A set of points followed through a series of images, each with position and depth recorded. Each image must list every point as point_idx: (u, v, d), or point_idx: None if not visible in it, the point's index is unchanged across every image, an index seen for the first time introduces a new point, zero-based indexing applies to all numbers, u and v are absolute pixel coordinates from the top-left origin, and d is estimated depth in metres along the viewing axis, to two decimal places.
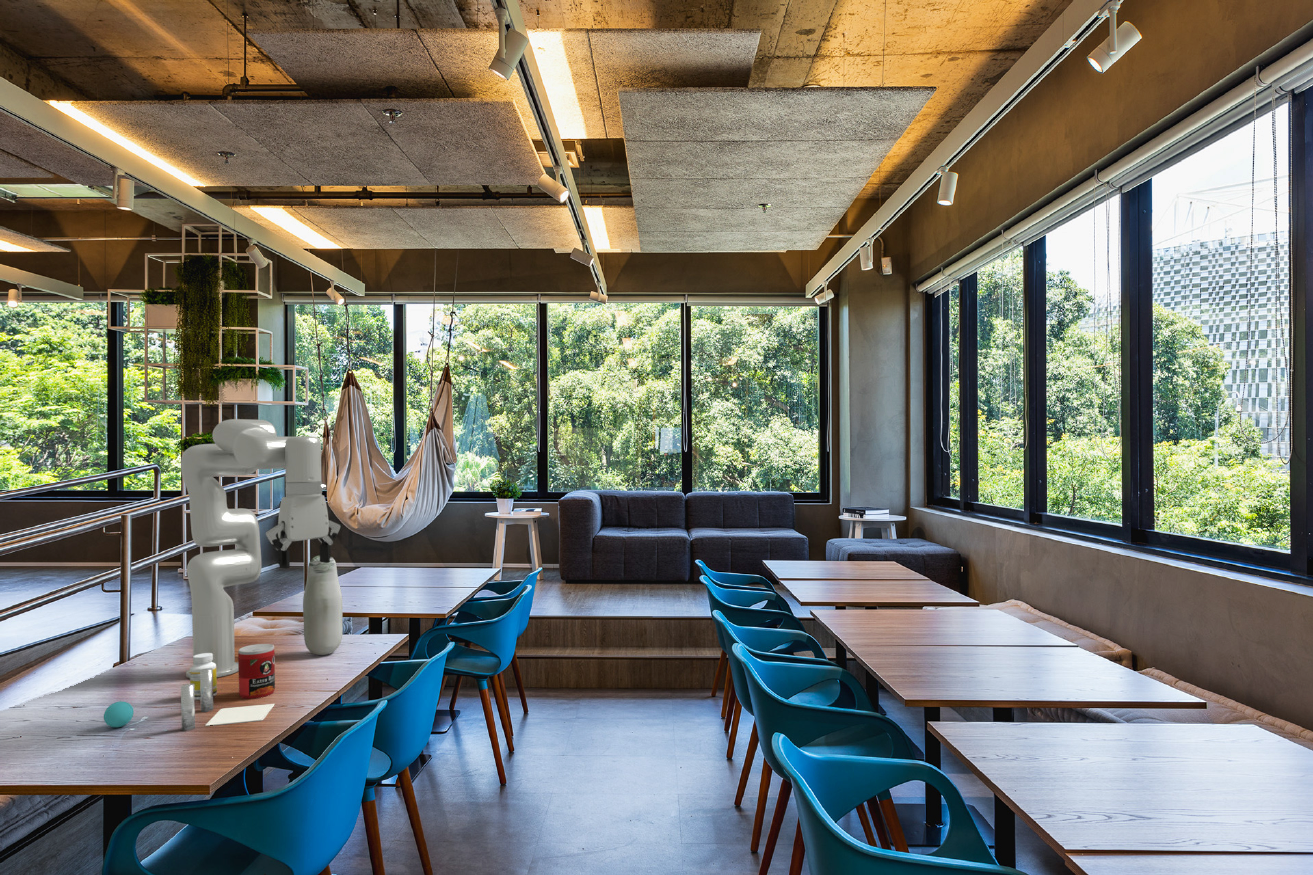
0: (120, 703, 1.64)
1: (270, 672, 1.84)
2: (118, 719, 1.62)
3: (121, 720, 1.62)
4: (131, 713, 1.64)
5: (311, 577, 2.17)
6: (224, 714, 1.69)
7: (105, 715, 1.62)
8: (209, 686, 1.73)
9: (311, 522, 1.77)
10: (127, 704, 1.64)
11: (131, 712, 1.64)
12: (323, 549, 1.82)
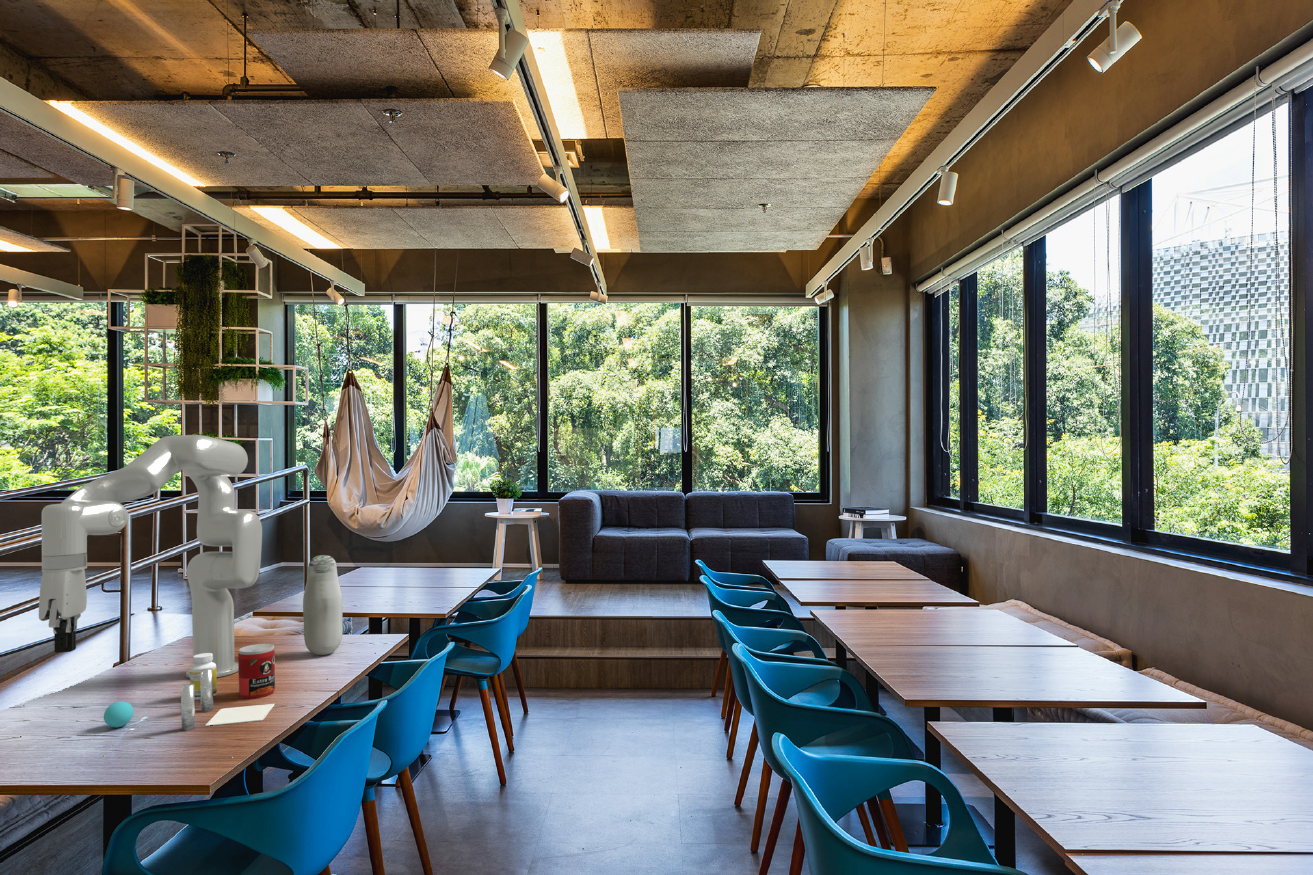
0: (120, 703, 1.64)
1: (270, 672, 1.84)
2: (118, 719, 1.62)
3: (121, 720, 1.62)
4: (131, 713, 1.64)
5: (311, 577, 2.17)
6: (224, 714, 1.69)
7: (105, 715, 1.62)
8: (209, 686, 1.73)
9: (79, 597, 1.63)
10: (127, 704, 1.64)
11: (131, 712, 1.64)
12: None
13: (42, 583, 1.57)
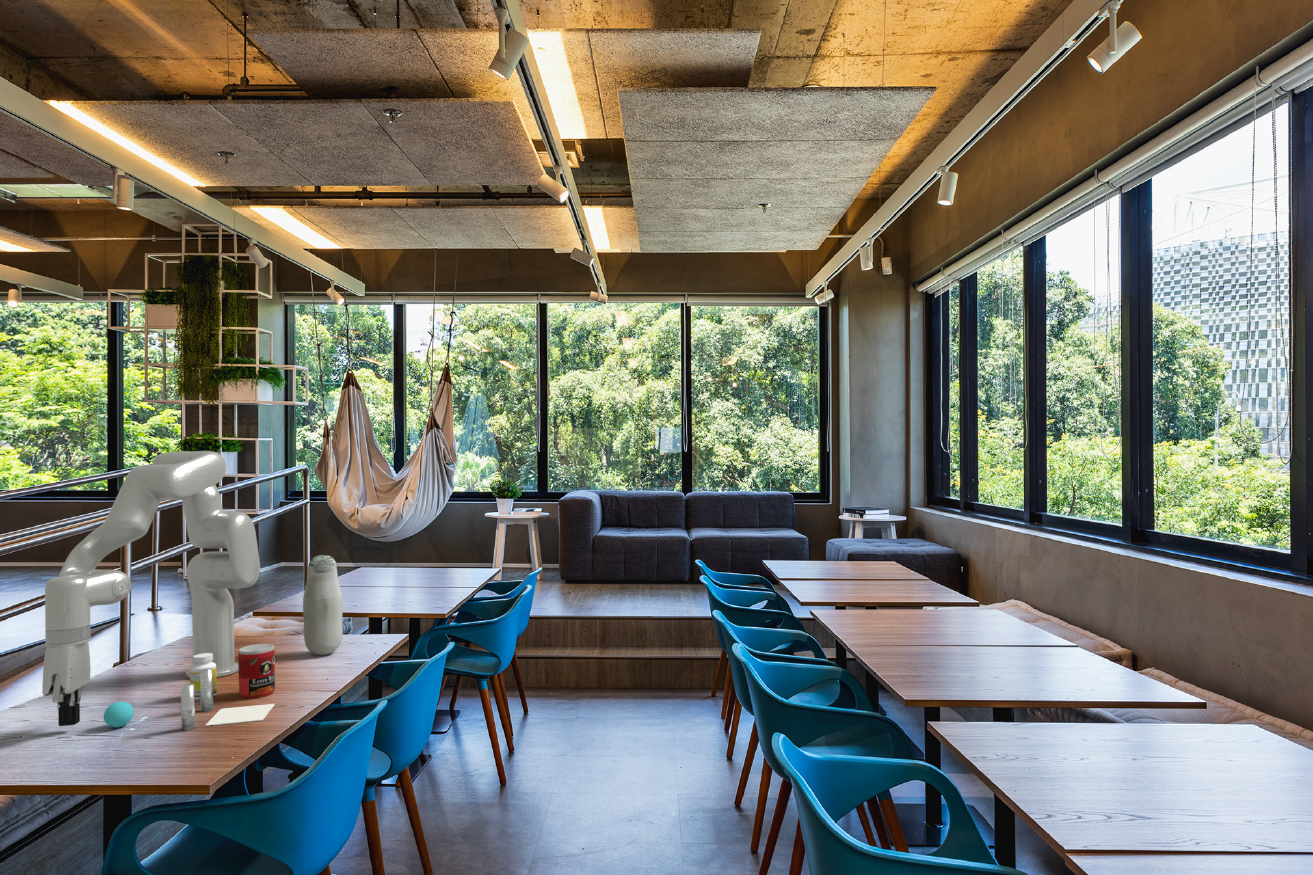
0: (120, 703, 1.64)
1: (270, 672, 1.84)
2: (118, 719, 1.62)
3: (121, 720, 1.62)
4: (131, 713, 1.64)
5: (311, 577, 2.17)
6: (224, 714, 1.69)
7: (105, 715, 1.62)
8: (209, 686, 1.73)
9: (82, 669, 1.63)
10: (127, 704, 1.64)
11: (131, 712, 1.64)
12: None
13: (46, 658, 1.57)
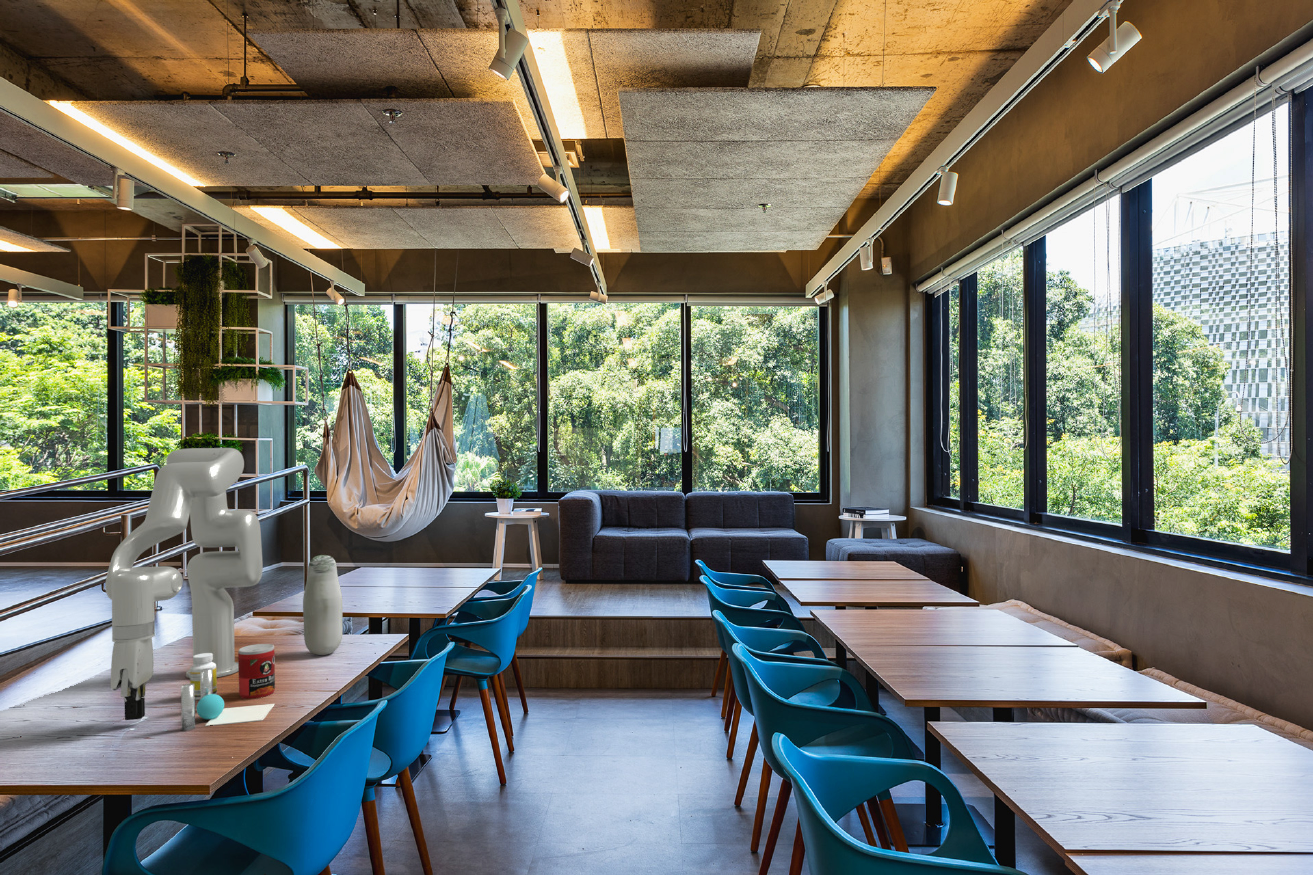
0: (214, 697, 1.67)
1: (270, 672, 1.84)
2: (211, 713, 1.66)
3: (213, 714, 1.66)
4: (222, 708, 1.68)
5: (311, 577, 2.17)
6: (224, 714, 1.69)
7: (199, 706, 1.66)
8: (209, 686, 1.73)
9: (147, 664, 1.66)
10: (220, 698, 1.68)
11: (223, 707, 1.68)
12: None
13: (114, 653, 1.60)
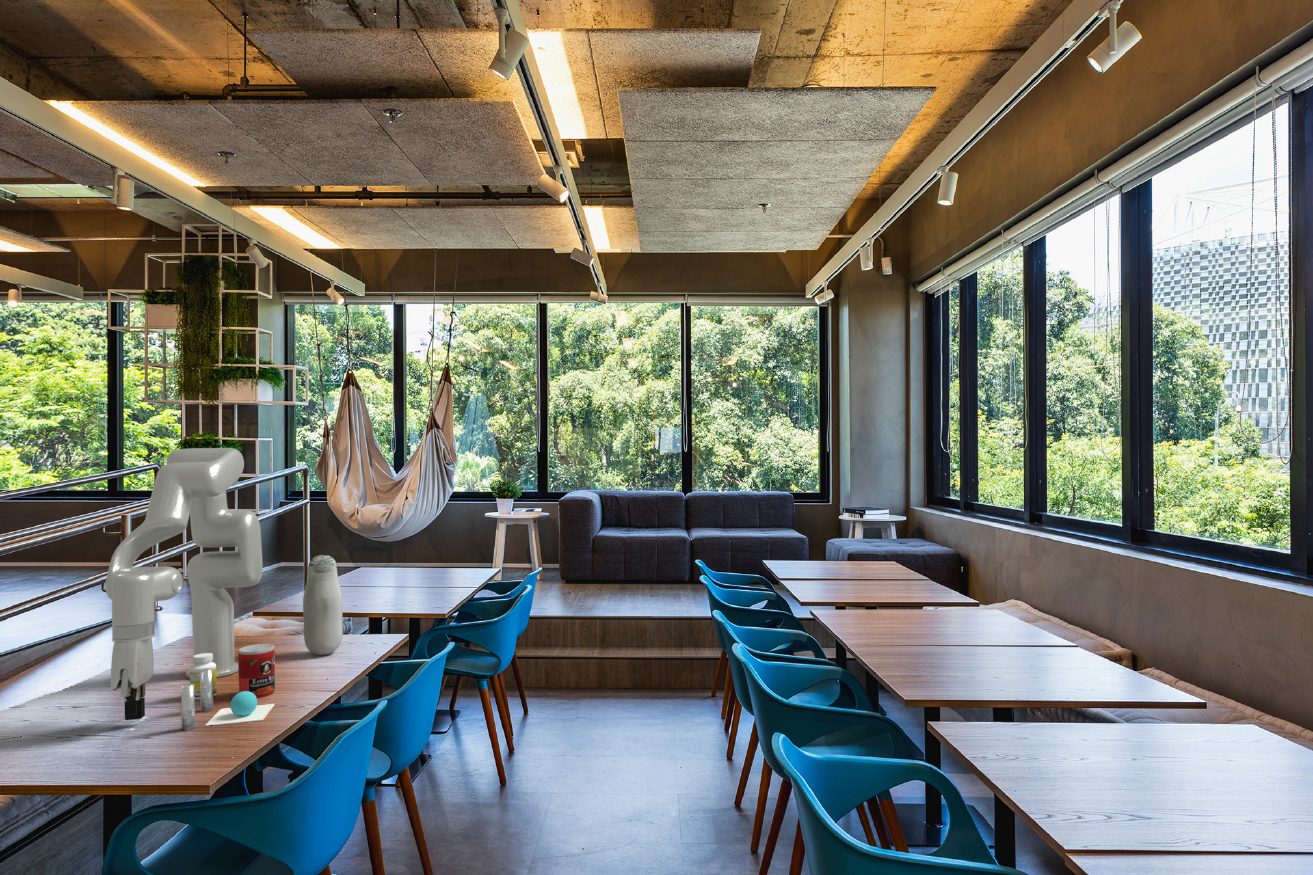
0: (244, 715, 1.68)
1: (270, 672, 1.84)
2: (234, 706, 1.67)
3: (232, 705, 1.67)
4: None
5: (311, 577, 2.17)
6: (224, 714, 1.69)
7: (249, 704, 1.68)
8: (209, 686, 1.73)
9: (147, 664, 1.66)
10: None
11: None
12: None
13: (114, 653, 1.60)
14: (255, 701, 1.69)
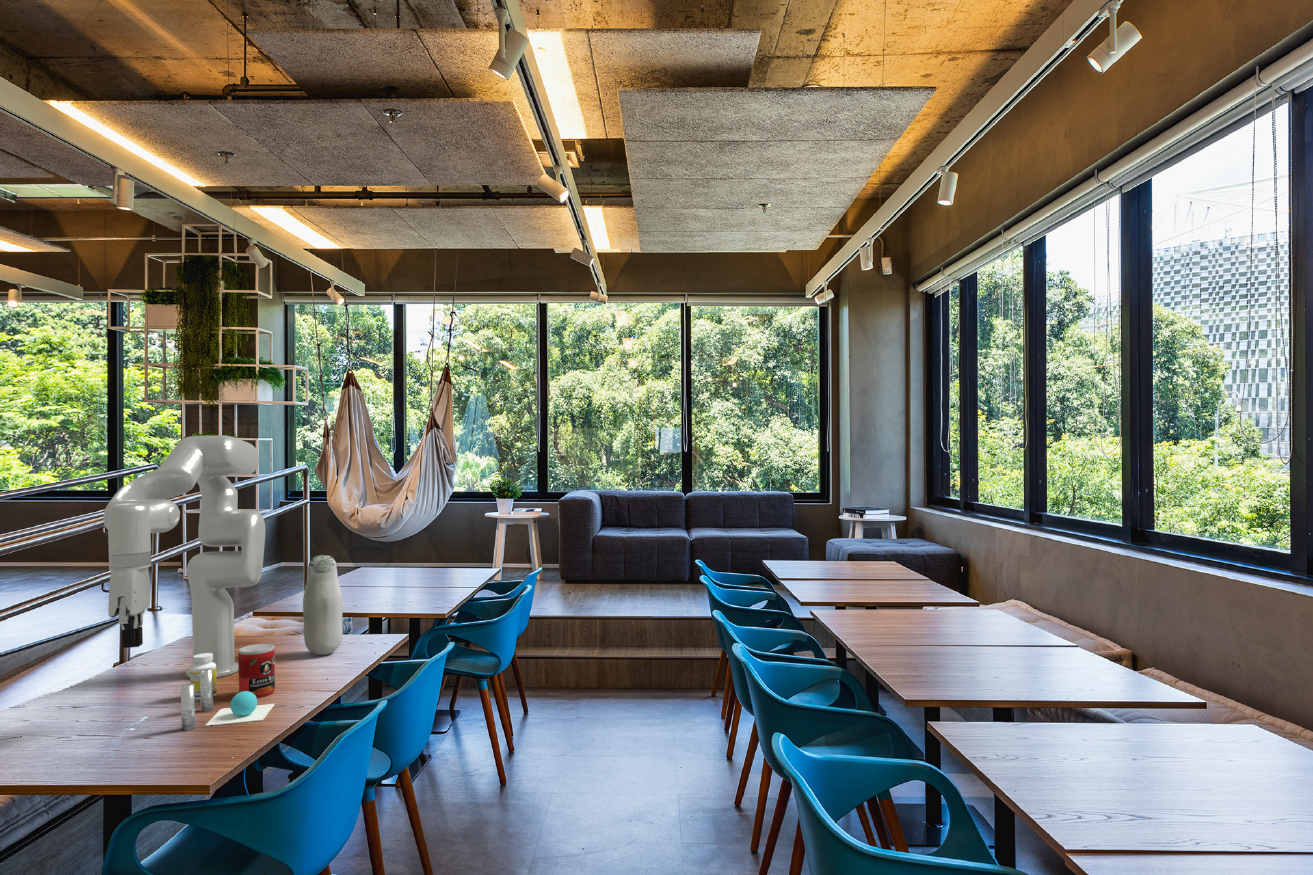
0: (244, 715, 1.68)
1: (270, 672, 1.84)
2: (234, 706, 1.67)
3: (232, 705, 1.67)
4: None
5: (311, 577, 2.17)
6: (224, 714, 1.69)
7: (249, 704, 1.68)
8: (209, 686, 1.73)
9: (144, 594, 1.68)
10: None
11: None
12: None
13: (111, 581, 1.62)
14: (255, 701, 1.69)
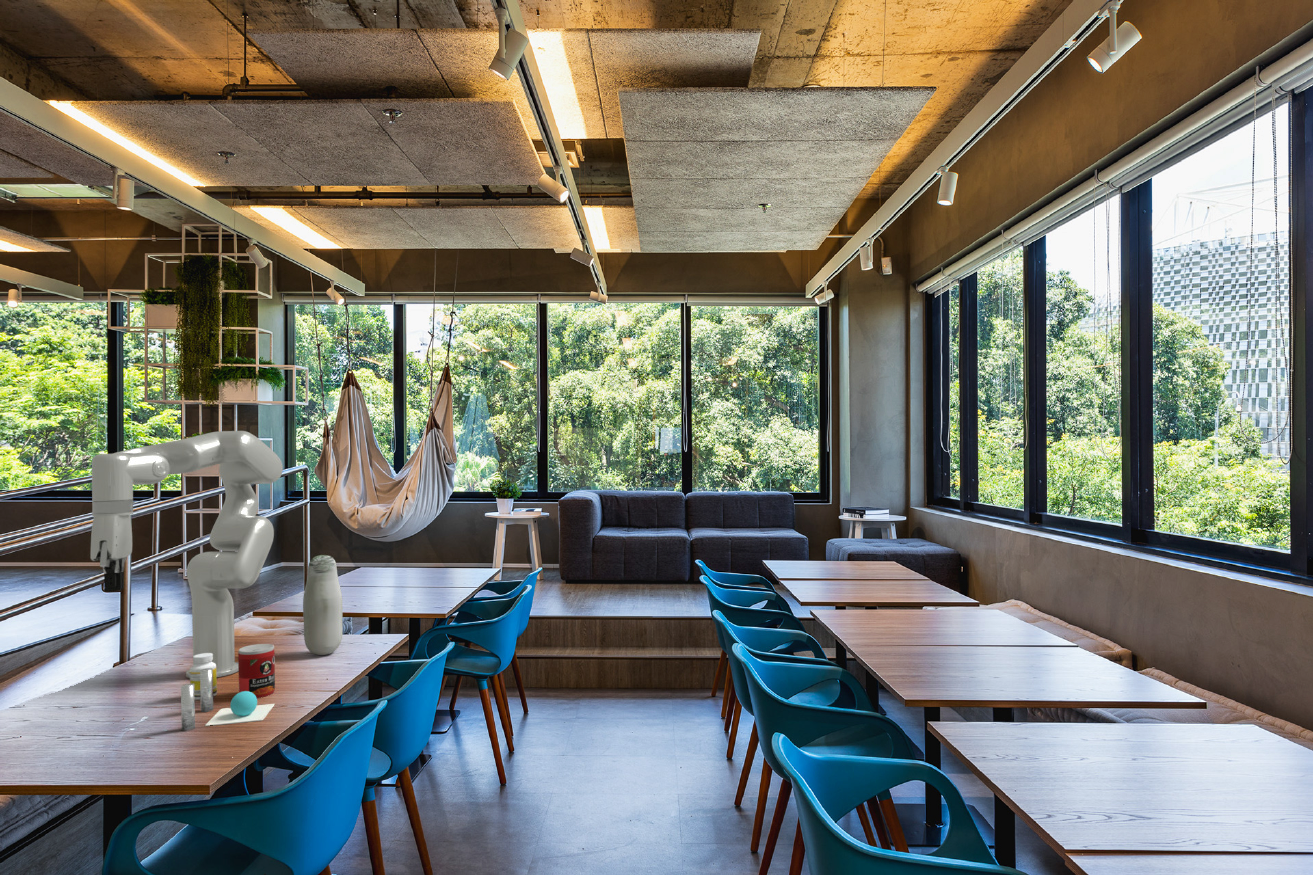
0: (244, 715, 1.68)
1: (270, 672, 1.84)
2: (234, 706, 1.67)
3: (232, 705, 1.67)
4: None
5: (311, 577, 2.17)
6: (224, 714, 1.69)
7: (249, 704, 1.68)
8: (209, 686, 1.73)
9: (126, 540, 1.76)
10: None
11: None
12: None
13: (93, 526, 1.70)
14: (255, 701, 1.69)
